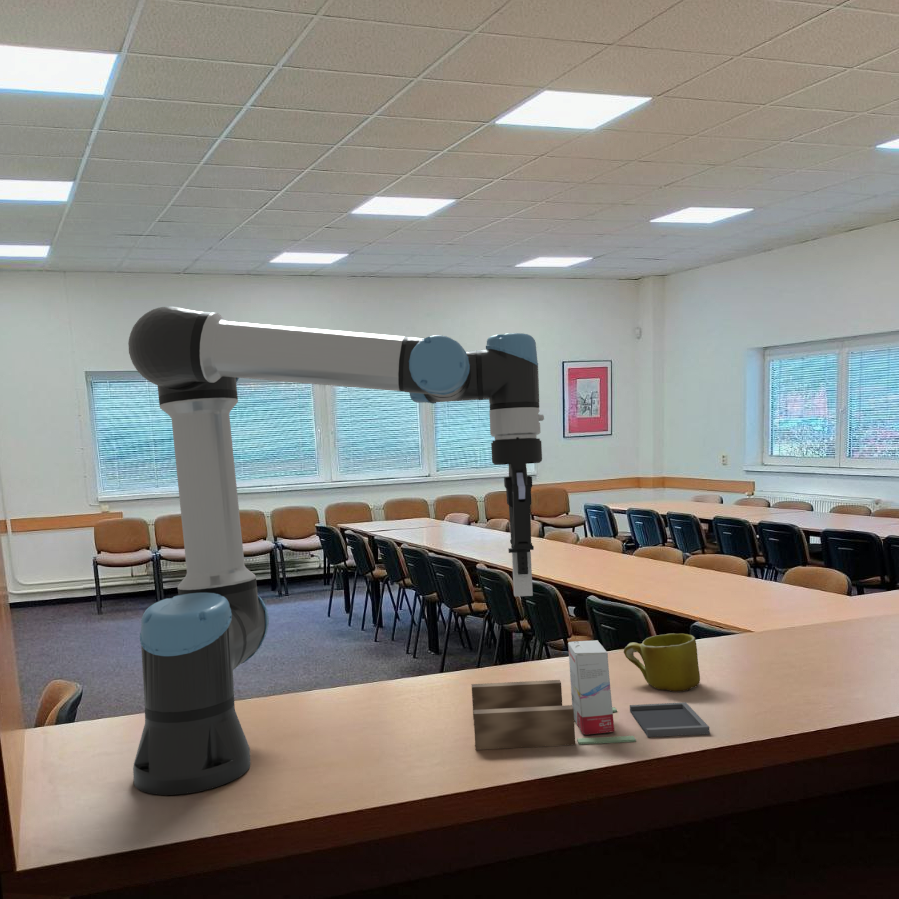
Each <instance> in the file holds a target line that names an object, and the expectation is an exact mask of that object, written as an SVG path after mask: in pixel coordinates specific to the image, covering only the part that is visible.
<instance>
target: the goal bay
mask: <svg viewBox="0 0 899 899" xmlns="http://www.w3.org/2000/svg"><path fill="white" fill-rule="evenodd" d="M612 710H613V713H617V712H618V710H617V708H616V707H614V706H612ZM576 742H577V743H578V745H590V744H591V745H592V744H593V745H594V744H615V743H633V742H634V743H636V742H637V739H636V737H635V736H634V735H624V736H622V735H621V736H601V737H599V736H598V737H582V738H581V737H579V738H576Z"/></svg>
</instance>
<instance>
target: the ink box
mask: <svg viewBox="0 0 899 899" xmlns="http://www.w3.org/2000/svg"><path fill="white" fill-rule="evenodd" d="M567 647H568V659H569V660H568V662H569V674H570V676H569V678H570V692H571V693H570V694H571V705H572V707H573V709H574V722H575V723H576V725H577V726H578V728H579V730H580V731H581V733H582V735H586V736H588V735H594V734H595V735H596V734H606V733H615V725H614V724H615V723H614V712H613V710H612V707H613V703H612V702H613V701H612V700H613V699H612V693H611V691H612V690H611V681H610V680H611V679H610V669H609V652H608V651H607V650H606V649H605V648H604V646H603V645H602V644H601V643H600V642H599V640H598V639H597V640H579V641H577V640H575V641H569V642H568V643H567Z"/></svg>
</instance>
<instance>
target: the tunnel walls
mask: <svg viewBox="0 0 899 899" xmlns="http://www.w3.org/2000/svg"><path fill="white" fill-rule="evenodd" d="M562 691H563V690H562V682H561V680H560V679H551V680H550V679H549V680H548V679H547V680H531V681H530V680H529V681H527V680H526V681H510V682H509V681H506V682H490V683H489V682H487V683H471V698H472V717H473V728H474V730H473V731H474V747H475V748H474V749H475V751H477V750H497V749H501V750H502V749H521V748H537V747H539V748H540V747H541V748H543V747H558V746H559V747H560V746H576V732H575V731H576V730H575V727H576V726H575V720H574V709H573V707H572V704H564V705H563V696H562V694H563V692H562Z"/></svg>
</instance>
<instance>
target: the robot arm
mask: <svg viewBox="0 0 899 899" xmlns="http://www.w3.org/2000/svg"><path fill="white" fill-rule="evenodd" d="M537 351H538V350H537V343H536V339H535V338H534V337H533V335H530V334H528V333H524V332H523V333H521V332H509V333H507V332H506V333H501V334H498V333H497V334H494V335H490V336H489V337H488V338H487V340H486V345H485V348H483V349H478V350H465V348H464V347H463V346H462V345H461V344H460V343H459V342H458V341H457V340H455V339H453V338H452V337H449V336H447V335H443V334H442V335H441V334H435V335H434V334H433V335H430V336H427V337H418V336H417V337H416V336H405V335H393V334H382V333H372V332H371V333H370V332H359V331H358V332H357V331H347V330H335V329H323V328H311V327H299V326H287V325H275V324H262V323H251V322H243V321H241V322H240V321H239V322H238V321H230V320H229V321H228V320H225V319H224V317H223V316H222V315H221V314H220V313H218V312H212V311H210V312H209V311H200V310H193V309H187V308H183V307H179V306H178V307H177V306H161V307H157V308H153V309H151V310H149V311H148V312H146V313H144V314H143V315H142V316H141V317H140V318H139V319H138V320H137V321H136V322H135V323H134V325H133V326H132V329H131V332H130V334H129V337H128V354H129V358H130V361H131V363H132V365H133V366H134V368H135V370H136V371H137V372H138V373H139V374H140V376H142V377H143V378H144V379H146V381H148V382H149V383H152V384H154V385H156V386H157V394H158V405H159V408H160V409H161V411H163V412H165V414H166V415H168V416H169V417H170V419H171V427H172V437H173V446H174V447H173V448H174V456H175V457H174V458H175V467H176V479H177V485H178V486H177V487H178V497H179V498H178V499H179V506H180V516H181V517H180V518H181V525H182V526H181V527H182V536H183V537H182V538H183V547H184V556H185V568H186V574H185V576H184V578H183V579H182V580H181V581H180V582H179V584H178V585H177V592H178V593H177V594H178V595H175V596H173V597H171V598H170V597H169V598H164V599H160V600H158V601H156V602H155V603H153V604H151V605H150V606H149V607H147V608H146V609H145V611H144V613H143V614H142V617H141V620H140V621H141V624H140V625H141V627H140V633H139V643H140V647H141V648H140V649H141V660H142V661H141V663H142V683H143V684H142V685H143V701H144V704H143V705H144V726H143V729H142V732H141V737H140V741H139V743H138V748H137V750H136V755H135V758H134V760H133V767H132V770H133V771H132V773H133V774H132V775H133V784H134V787H135V788H137V790H139V791H141V792H143V793H148V794H151V795H166V796H169V795H171V796H172V795H185V794H192V793H197V792H202V791H207V790H210V789H214V788H217V787H220V786H223V785H225V784H228V783H231V782H233V781H235V780H237V779H239V778H240V777H241V776H243V775H244V774H245V773H247V771H249V769H250V767H251V748H250V746H249V742H248V740H247V737H246V734H245V732H244V730H243V727H242V724H241V723H240V720H239V717H238V715H237V712H236V707H235V705H236V704H235V690H234V688H235V686H234V670H236V669H237V667H239V666H240V665H242V664H244V663H245V662H247V661H249V660H250V659H251V658H252V657H253V656H254V655H255V654H256V653H257V652H258V650H259V649H260V647H261V646H262V644H263V642H264V641H265V639H266V636H267V634H268V630H269V627H270V626H269V624H270V618H269V617H270V616H269V611H268V608H267V606H266V604H265V601H264V599H263V598H261V596H260V595H258V586H257V576H256V574H255V573H253V572H252V571H251V570H249V569H248V568H247V567H246V565H245V556H244V546H243V539H242V538H243V537H242V535H243V534H242V527H241V526H242V525H241V517H240V507H239V505H240V504H239V497H238V489H237V488H238V485H237V479H236V477H237V476H236V468H235V466H236V465H235V458H234V448H233V447H234V446H233V437H232V428H231V417H230V414H231V411H232V410H233V408H234V407H236V405H237V404H238V403H239V399H238V387H237V383H238V381H239V379H249V380H251V379H252V380H260V381H261V380H263V381H274V382H275V381H276V382H285V383H286V382H287V383H298V384H308V385H309V384H311V385H313V384H314V385H324V386H332V387H333V386H335V387H347V388H356V389H357V388H358V389H370V390H380V391H394V392H405V393H408V394H409V398H410V399H411V401H413V402H414V403H422V404H423V403H425V404H426V403H428V404H432V405H434V404H436V403H447V402H448V403H449V402H464V401H477V400H478V401H481V400H482V401H483V400H488V402H489V432H490V434H489V435H490V436H491V437H492V438H493V437H494V440H492V442H491V443H490V444H491V462H492V464H493V465H495V466H496V465H497V466H501V465H508V476H504V477H503V482H504V483H503V485H504V488H505V491H506V504H507V506H508V514H509V516H508V517H509V530H510V541H509V542H510V545H511V546H510V548H508V553H509V554H511V558H512V559H511V562H512V563H511V564H512V579H513V580H512V581H513V584H512V585H513V596H514V597H533V595H534V594H533V592H534V591H533V575H532V574H533V573H532V553H531V551H534V545H533V543H532V519H531V516H532V515H531V505H532V488H533V477H532V475H528V470H527V469H528V468H527V464H539V463H541V462H542V460H543V450H542V449H543V448H542V447H543V446H542V440H541V438H538V437H537V436H538V435H540V434H541V423H540V422H543V421H544V420H545V416H544V414H541V413H539V412H540V385H539V384H540V382H539V363H538V362H539V361H538V354H537V353H538V352H537Z"/></svg>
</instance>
